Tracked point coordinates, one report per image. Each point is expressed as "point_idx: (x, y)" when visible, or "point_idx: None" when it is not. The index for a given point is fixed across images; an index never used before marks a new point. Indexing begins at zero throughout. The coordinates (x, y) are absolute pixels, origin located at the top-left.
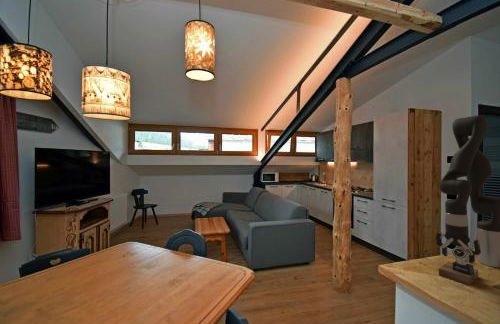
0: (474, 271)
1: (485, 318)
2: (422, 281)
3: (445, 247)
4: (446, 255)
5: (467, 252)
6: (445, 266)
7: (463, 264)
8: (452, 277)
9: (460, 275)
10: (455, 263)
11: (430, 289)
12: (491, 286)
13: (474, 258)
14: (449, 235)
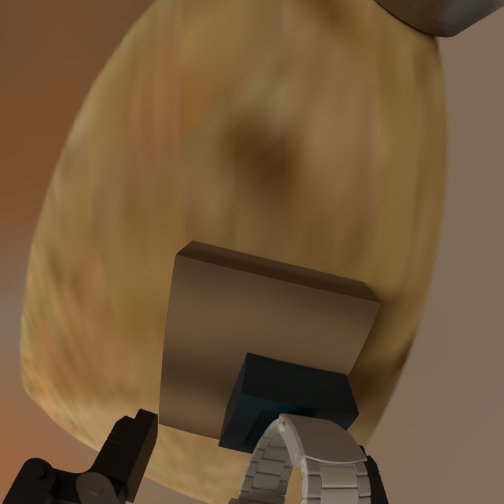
0: (354, 348)
1: None
2: None
3: (123, 502)
4: (155, 430)
5: (352, 483)
6: (178, 378)
7: (286, 475)
8: None
9: None
10: (236, 447)
11: (185, 485)
12: (392, 367)
13: (375, 487)
14: None
